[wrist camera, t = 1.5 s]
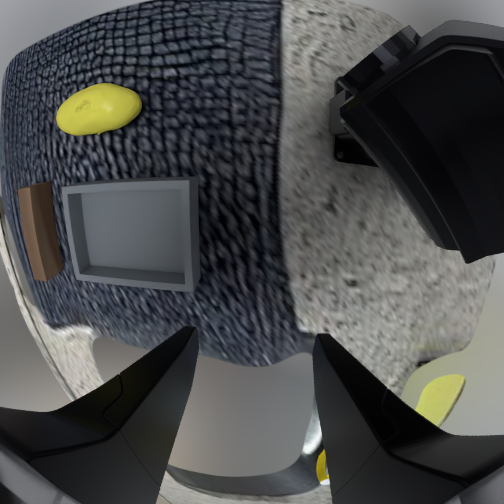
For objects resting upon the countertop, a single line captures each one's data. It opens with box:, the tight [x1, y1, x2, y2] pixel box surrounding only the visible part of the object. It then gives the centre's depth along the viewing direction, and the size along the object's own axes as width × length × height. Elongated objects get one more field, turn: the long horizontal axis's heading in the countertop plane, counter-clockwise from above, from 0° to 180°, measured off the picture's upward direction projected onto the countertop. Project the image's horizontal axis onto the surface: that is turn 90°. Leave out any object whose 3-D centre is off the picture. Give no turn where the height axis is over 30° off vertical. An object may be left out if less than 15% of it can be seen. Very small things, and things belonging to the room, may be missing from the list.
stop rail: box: [18, 181, 64, 282], centre depth 20 cm, size 2×9×3 cm, turn 178°
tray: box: [62, 177, 201, 292], centre depth 20 cm, size 11×8×2 cm
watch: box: [316, 449, 330, 485], centre depth 30 cm, size 6×3×6 cm, turn 172°
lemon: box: [56, 83, 142, 136], centre depth 16 cm, size 4×8×4 cm, turn 81°
